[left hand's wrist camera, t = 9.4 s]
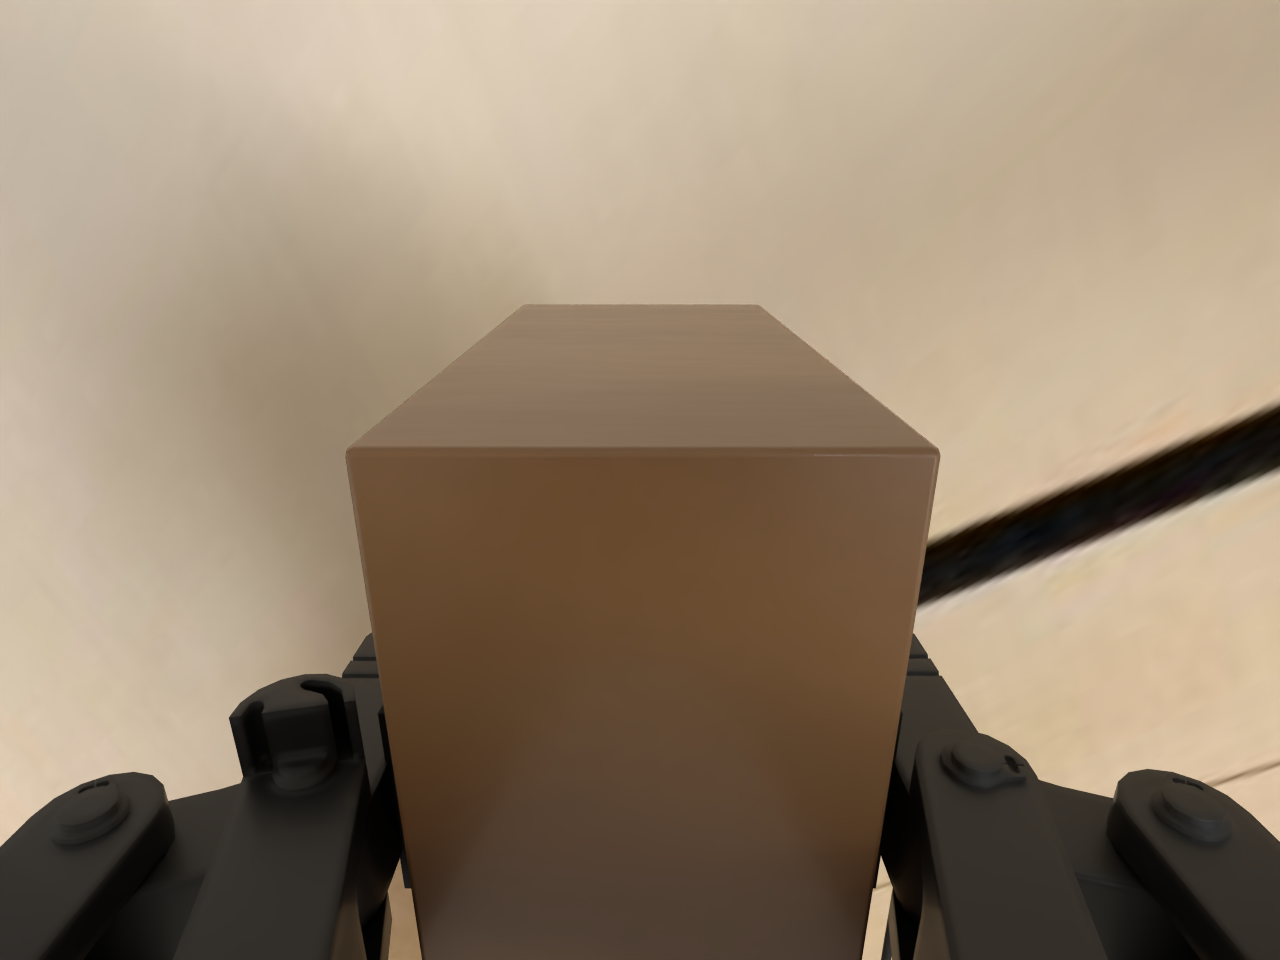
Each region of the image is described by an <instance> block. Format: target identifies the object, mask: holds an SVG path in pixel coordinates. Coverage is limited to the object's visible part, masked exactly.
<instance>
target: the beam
mask: <svg viewBox="0 0 1280 960" xmlns="http://www.w3.org/2000/svg"><path fill="white" fill-rule="evenodd" d="M939 462H940V452H939V449H938V448H937V447H935V446H934V445H933V444H932V443H930V442H929V441H928V440H927V439H925V438H924V437H923V436H922V435H920V434H919V433H918V432H917V431H915V430H914V429H913V428H912V427H910V426H909V425H908V424H907V423H905V422H904V421H903V420H902V419H900V418H899V417H898V416H897V415H895V414H894V413H893V412H892V411H890V410H889V409H888V408H887V407H885V406H884V405H883V404H882V403H880V402H879V401H878V400H877V399H875V398H874V397H873V396H872V395H870V394H869V393H868V392H867V391H865V390H864V389H863V388H862V387H860V386H859V385H858V384H857V383H855V382H854V381H853V380H852V379H850V378H849V377H848V376H847V375H845V374H844V373H843V372H842V371H840V370H839V369H838V368H837V367H835V366H834V365H833V364H832V363H830V362H829V361H828V360H827V359H825V358H824V357H823V356H822V355H820V354H819V353H818V352H817V351H815V350H814V349H813V348H812V347H810V346H809V345H808V344H807V343H805V342H804V341H803V340H802V339H800V338H799V337H798V336H797V335H795V334H794V333H793V332H792V331H790V330H789V329H788V328H787V327H785V326H784V325H783V324H782V323H780V322H779V321H778V320H777V319H775V318H774V317H773V316H772V315H770V314H769V313H768V312H767V311H765V310H764V309H763V308H762V307H760V306H759V305H523V306H522V307H521V308H519V309H518V310H517V311H516V312H515V313H513V314H512V315H511V316H510V317H508V318H507V319H506V320H505V321H503V322H502V323H501V324H500V325H499V326H497V327H496V328H495V329H494V330H492V331H491V332H490V333H489V334H488V335H486V336H485V337H484V338H483V339H481V340H480V341H479V342H478V343H476V344H475V345H474V346H473V347H472V348H470V349H469V350H468V351H467V352H465V353H464V354H463V355H462V356H461V357H459V358H458V359H457V360H456V361H454V362H453V363H452V364H451V365H449V366H448V367H447V368H446V369H445V370H443V371H442V372H441V373H440V374H438V375H437V376H436V377H435V378H434V379H432V380H431V381H430V382H429V383H427V384H426V385H425V386H424V387H422V388H421V389H420V390H419V391H418V392H416V393H415V394H414V395H413V396H411V397H410V398H409V399H408V400H407V401H405V402H404V403H403V404H402V405H400V406H399V407H398V408H397V409H395V410H394V411H393V412H392V413H391V414H389V415H388V416H387V417H386V418H384V419H383V420H382V421H381V422H380V423H378V424H377V425H376V426H375V427H373V428H372V429H371V430H370V431H368V432H367V433H366V434H365V435H364V436H362V437H361V438H360V439H359V440H357V441H356V442H355V443H354V444H353V445H351V446H350V447H349V448H348V449H347V451H346V463H347V469H348V476H349V482H350V489H351V496H352V502H353V509H354V515H355V522H356V528H357V535H358V541H359V548H360V555H361V561H362V568H363V574H364V581H365V587H366V594H367V601H368V607H369V614H370V620H371V627H372V633H373V640H374V646H375V653H376V660H377V666H378V673H379V679H380V686H381V692H382V699H383V706H384V712H385V719H386V725H387V732H388V738H389V745H390V751H391V758H392V765H393V771H394V778H395V784H396V791H397V797H398V804H399V811H400V817H401V824H402V830H403V837H404V843H405V850H406V856H407V863H408V870H409V876H410V883H411V889H412V896H413V902H414V909H415V916H416V922H417V929H418V935H419V942H420V948H421V955H422V960H862V955H863V948H864V942H865V935H866V929H867V923H868V916H869V910H870V903H871V897H872V890H873V884H874V878H875V871H876V865H877V858H878V852H879V846H880V839H881V833H882V826H883V820H884V814H885V807H886V801H887V794H888V788H889V782H890V775H891V769H892V762H893V756H894V750H895V743H896V737H897V730H898V724H899V718H900V711H901V705H902V698H903V692H904V686H905V679H906V673H907V666H908V660H909V654H910V647H911V641H912V634H913V628H914V622H915V615H916V609H917V602H918V596H919V590H920V583H921V577H922V570H923V564H924V558H925V551H926V545H927V538H928V532H929V526H930V519H931V513H932V506H933V500H934V494H935V487H936V481H937V474H938V468H939Z"/></svg>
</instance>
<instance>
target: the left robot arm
mask: <svg viewBox="0 0 1280 960" xmlns="http://www.w3.org/2000/svg"><path fill="white" fill-rule="evenodd" d="M229 720H230V724H231V728H232V732H233V737H234V741H235V745H236V749H237V753H238V757H239V761H240V765H241V769H242V773H243V779H242V782H241V783H240V784H236V785H233V786H230V787H226V788H223V789H219V790H215V791H211V792H206V793H202V794H198V795H193V796H189V797H184V798H180V799H176V800H171V801H168V799H167V795H166V792H165V789H164V785H163V784H162V783H161V782H160V781H159V780H157V779H156V778H155V777H154V776H153V775H148V774H142V773H137V772H130V773H122V774H113V775H108V776H105V777H102V778H99V779H96V780H92V781H90V782H87V783H83V784H81V785H79V786H77V787H75V788H73V789H71V790H70V791H68V792H66V793H64V794H62V795H60V796H58V797H56V798H54V799H53V800H52V801H51V802H49V803H48V804H47V805H45V806H44V807H43V808H42V809H40V810H39V811H38V812H37V813H35V814H34V815H33V816H31V817H30V818H29V819H28V820H27V821H26V822H25V823H24V824H23V825H22V826H21V827H20V828H19V829H18V830H17V831H16V832H15V833H14V834H13V835H12V836H11V837H10V838H9V839H8V840H7V841H6V842H5V843H4V844H3V845H2V846H1V847H0V960H388V954H389V944H390V934H391V923H392V916H391V909H390V902H389V896H388V888H389V886H390V883H391V880H392V878H393V875H394V872H395V870H396V867H397V864H398V862H399V859H400V860H401V867H402V873H403V880H404V886H405V888H411V883H410V876H409V870H408V863H407V856H406V850H405V843H404V837H403V830H402V824H401V817H400V811H399V804H398V797H397V791H396V784H395V778H394V771H393V765H392V758H391V751H390V745H389V738H388V732H387V725H386V719H385V712H384V706H383V699H382V692H381V686H380V679H379V673H378V666H377V660H376V653H375V646H374V640H373V633H370V634H369V635H368V636H366V638H365V639H364V641H363V642H362V644H361V646H360V647H359V649H358V650H357V652H356V653H355V655H354V656H353V661H350V663H349V664H348V666H347V667H346V669H345V670H344V672H343V673H342V678H340V677H336V676H332V675H328V674H304V675H300V676H296V677H291V678H287V679H282V680H280V681H277V682H275V683H273V684H270V685H268V686H266V687H264V688H261V689H259V690H257V691H256V692H255V693H253V694H252V695H250V696H249V697H248V698H246V699H245V700H243V701H242V702H241V703H240V704H239V705H238V706H237V708H236V709H235V710H234V712H233V713H232V714H231V716H230V717H229ZM880 857H882V859H883V862H884V865H885V867H886V870H887V873H888V875H889V878H890V881H891V884H892V886H893V890H892V896H891V902H890V908H889V914H888V920H887V926H886V932H885V938H884V944H883V951H882V958H881V960H891V957H892V960H1280V842H1279V841H1278V840H1277V839H1276V838H1275V837H1274V836H1273V835H1272V834H1271V833H1270V832H1269V831H1268V830H1267V829H1266V828H1265V827H1264V826H1263V825H1262V824H1261V823H1260V822H1259V821H1258V820H1257V819H1256V818H1255V817H1254V816H1253V815H1251V814H1250V813H1249V812H1248V811H1247V810H1245V809H1244V808H1243V807H1242V806H1240V805H1239V804H1238V803H1236V802H1235V801H1234V800H1233V799H1231V798H1230V797H1229V796H1227V795H1225V794H1224V793H1222V792H1220V791H1218V790H1216V789H1214V788H1212V787H1210V786H1208V785H1206V784H1205V783H1203V782H1201V781H1198V780H1195V779H1192V778H1189V777H1186V776H1183V775H1180V774H1177V773H1174V772H1168V771H1160V770H1151V769H1145V770H1139V771H1134V772H1129V773H1128V774H1126V775H1125V776H1124V777H1123V778H1122V779H1121V780H1120V781H1118V784H1117V787H1116V791H1115V794H1114V798H1109V797H1105V796H1100V795H1096V794H1092V793H1087V792H1083V791H1078V790H1074V789H1070V788H1065V787H1061V786H1057V785H1054V784H1051V783H1047V782H1044V781H1041V780H1039V779H1038V778H1037V776H1036V774H1035V772H1034V771H1033V769H1032V768H1031V766H1030V765H1029V763H1028V762H1027V760H1026V759H1024V758H1023V757H1022V756H1021V755H1020V754H1018V753H1017V752H1016V751H1015V750H1013V749H1012V748H1011V747H1010V746H1008V745H1006V744H1004V743H1002V742H1000V741H998V740H996V739H994V738H992V737H990V736H988V735H985V734H981V733H978V731H977V730H976V728H975V727H974V725H973V724H972V722H971V720H970V719H969V717H968V716H967V714H966V713H965V711H964V710H963V708H962V707H961V705H960V704H959V702H958V700H957V699H956V697H955V696H954V694H953V693H952V691H951V690H950V688H949V687H948V685H947V684H946V682H945V680H944V679H943V677H942V676H939V671H938V670H937V668H936V667H935V665H934V664H933V662H932V660H931V659H928V654H927V653H926V651H925V650H924V648H923V647H922V645H921V643H920V642H919V640H918V639H917V637H916V636H915V634H912V641H911V647H910V654H909V660H908V666H907V673H906V679H905V686H904V692H903V698H902V705H901V711H900V718H899V724H898V730H897V737H896V743H895V750H894V756H893V762H892V769H891V775H890V782H889V788H888V794H887V801H886V807H885V814H884V820H883V826H882V833H881V839H880V846H879V852H878V858H877V865H876V871H875V878H874V884H873V888H876V883H877V876H878V870H879V864H880Z"/></svg>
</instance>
